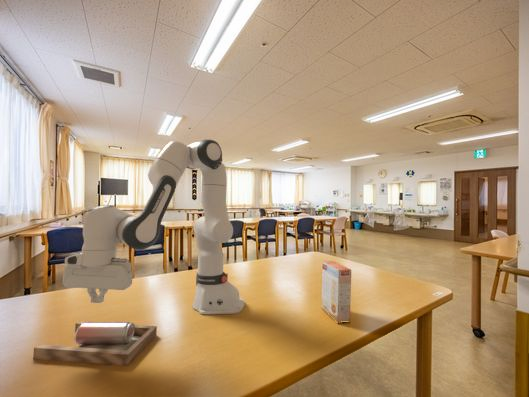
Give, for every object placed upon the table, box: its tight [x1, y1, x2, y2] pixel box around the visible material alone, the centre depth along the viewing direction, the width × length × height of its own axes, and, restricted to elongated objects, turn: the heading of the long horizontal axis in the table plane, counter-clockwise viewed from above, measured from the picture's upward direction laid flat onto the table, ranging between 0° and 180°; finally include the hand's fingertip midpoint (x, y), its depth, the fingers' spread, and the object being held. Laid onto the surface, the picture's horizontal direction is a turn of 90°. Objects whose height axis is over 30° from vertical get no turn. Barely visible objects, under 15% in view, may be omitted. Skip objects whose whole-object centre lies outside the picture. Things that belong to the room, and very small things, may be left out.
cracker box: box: [321, 260, 352, 322], centre depth 98 cm, size 14×6×21 cm, turn 12°
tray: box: [32, 320, 158, 367], centre depth 72 cm, size 28×15×3 cm, turn 86°
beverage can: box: [74, 321, 136, 345], centre depth 73 cm, size 6×6×15 cm
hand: (97, 302), depth 73 cm, fingers closed
